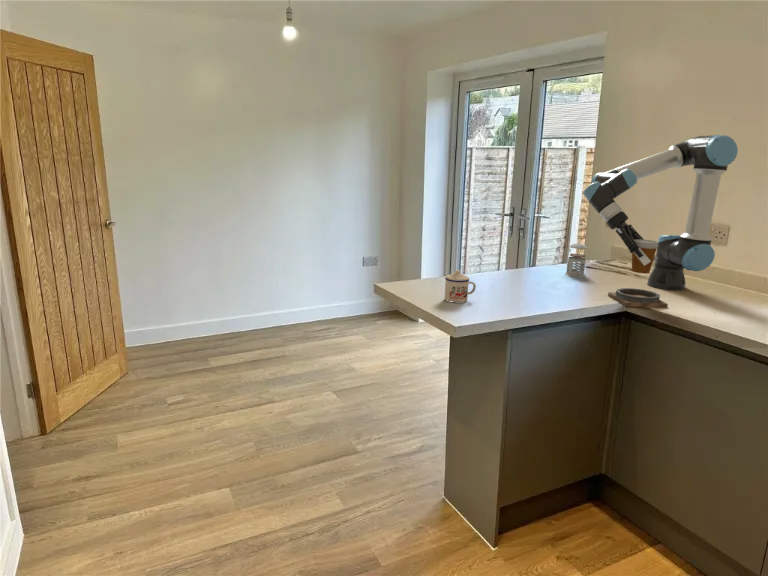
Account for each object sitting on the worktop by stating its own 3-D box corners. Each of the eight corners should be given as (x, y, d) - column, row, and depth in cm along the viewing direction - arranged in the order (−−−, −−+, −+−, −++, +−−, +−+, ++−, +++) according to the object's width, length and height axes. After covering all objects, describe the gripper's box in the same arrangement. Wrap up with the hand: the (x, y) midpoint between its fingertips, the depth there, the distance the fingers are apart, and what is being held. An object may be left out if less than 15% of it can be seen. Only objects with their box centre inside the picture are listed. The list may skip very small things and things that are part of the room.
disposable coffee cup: (657, 275, 203) (662, 243, 200) (630, 273, 205) (635, 242, 202) (650, 270, 212) (655, 240, 209) (624, 268, 214) (629, 238, 211)
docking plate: (646, 296, 219) (647, 288, 218) (667, 307, 203) (668, 298, 203) (607, 295, 219) (609, 287, 218) (625, 306, 203) (626, 297, 202)
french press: (588, 277, 253) (595, 224, 247) (564, 276, 253) (570, 223, 247) (581, 273, 262) (588, 222, 256) (558, 272, 262) (563, 221, 256)
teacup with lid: (447, 303, 198) (449, 273, 196) (440, 297, 207) (442, 268, 204) (478, 303, 201) (480, 273, 198) (470, 297, 209) (472, 267, 207)
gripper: (614, 220, 222) (649, 263, 216) (597, 224, 205) (634, 271, 199) (630, 208, 217) (666, 252, 211) (613, 211, 201) (652, 259, 195)
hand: (651, 261), depth 205 cm, fingers closed on disposable coffee cup, 9 cm apart
